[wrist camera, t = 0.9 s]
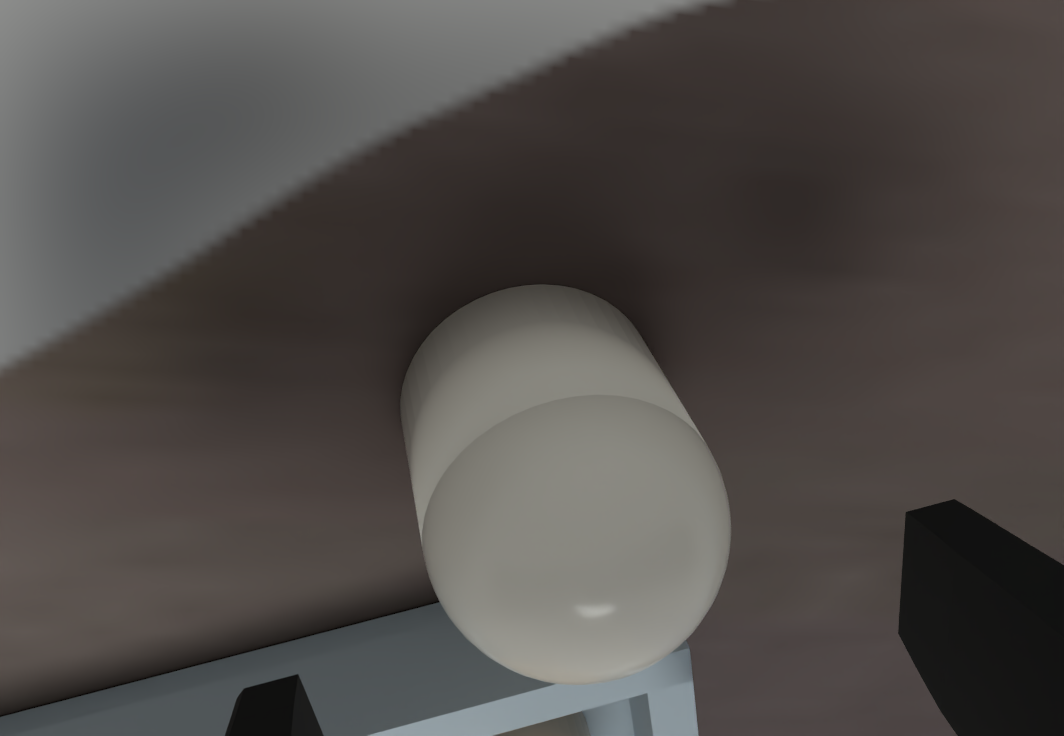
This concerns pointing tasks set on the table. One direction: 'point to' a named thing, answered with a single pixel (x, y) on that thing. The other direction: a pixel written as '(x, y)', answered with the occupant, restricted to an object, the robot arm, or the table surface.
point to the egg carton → (379, 690)
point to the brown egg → (555, 727)
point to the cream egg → (560, 487)
